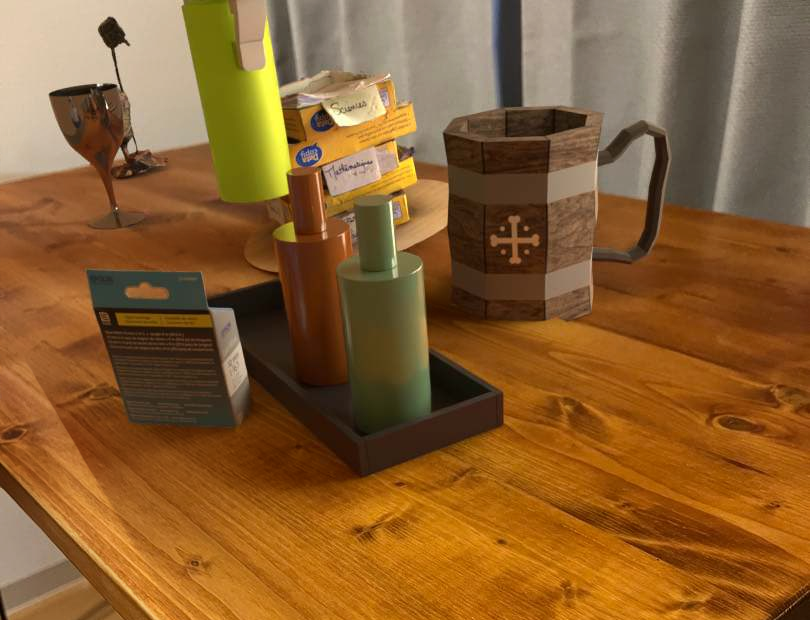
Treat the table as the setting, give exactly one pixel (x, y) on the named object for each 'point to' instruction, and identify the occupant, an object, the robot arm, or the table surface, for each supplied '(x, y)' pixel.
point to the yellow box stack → (353, 158)
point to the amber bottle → (312, 280)
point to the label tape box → (171, 349)
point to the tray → (331, 405)
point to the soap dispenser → (238, 107)
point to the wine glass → (95, 137)
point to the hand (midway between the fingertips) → (233, 65)
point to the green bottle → (383, 323)
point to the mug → (535, 209)
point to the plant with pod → (126, 109)
